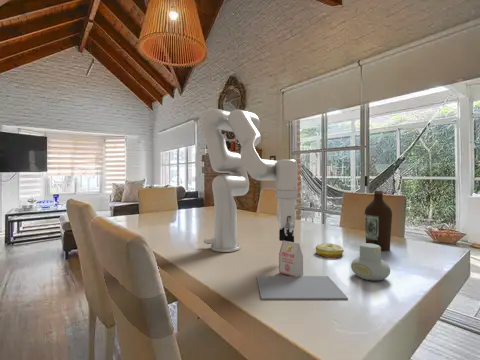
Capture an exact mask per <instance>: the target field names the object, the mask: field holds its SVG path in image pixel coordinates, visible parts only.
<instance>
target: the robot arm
mask: <svg viewBox="0 0 480 360" xmlns="http://www.w3.org/2000/svg"><path fill="white" fill-rule="evenodd" d="M200 122H201V123H200V124H201V126H200V127H201V133H202V135H203V138H204V141H205V143H206V149H207V153H208V158H209V162H210V167H211V169H212V170H213V171H214V172H216V173H222V174H219V175H217V176H216V177H214V179H212V184H211V188H212V195H213V203H214V208H213V209H214V213H213V214H214V220H213V221H214V224H213V225H214V230H213V231H214V233H213V234H214V236H213V237H211V238H204V239H203V244H206V245H210V250H211V251H214V252H218V253H231V252H236V251H239V250H240V249H241V245H240V244H239V243H237V237H238V234H237V233H238V232H237V231H238V230H237V228H238V227H237V226H238V221H237V220H238V219H237V215H238V210H237V208H238V207H237V204H236V200H235V198H234V197H238V196H239V197H241V196H245V195H247V193H248V192H249V191H250V190H249V189H250V180H249V176H250V177H251V178H252V179H253V180H256V181H275V200H277V205H276V206H277V209H276V226H277V227H278V228H279V231H278V234H279V237H278V241H280V242H282V240H284V241H289V242H295V233H294V232H295V231H294V229H296V227H295V226H296V204H295V203H296V202H295V201H297V200H298V174H299V173H298V169H299V168H298V162H297V160H295V159H279V160H273V159H263V158H261V157H260V156H259V153H258V152H257V151H256V148H255V147H256V146H258V145H259V144H260V142H261V140H262V136H261V134H260V131H259V128H260V125H261V124H260V122H261V121H260V119H259V117H258V114H257V115H256V113H254V112H251V111H247V110H243V109H234V110H232V111H228V110H223V109H219V108H209V109H207V110H206V111H205V112H204V113H203V114H202V118H201V121H200ZM221 131H225V132H230V133H231V132H232V133H233V134H234V136H235V137H236V139H237V141H238V143H239V144H240V147H241V148H240V153H238V152H237V151H230V150H229V149H228V146H227V143H226V138H225V137H224V136H223V134H222V133H221ZM225 173H226V174H225ZM248 175H249V176H248Z"/></svg>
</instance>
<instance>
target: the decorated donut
mask: <svg viewBox="0 0 480 360" xmlns="http://www.w3.org/2000/svg"><path fill="white" fill-rule="evenodd" d="M315 251H316V253H317V254H318V255H319V256H321V257H326V258H339V257H341V256H342V255H343V253H344V251H345V249H344V248H343V247H342V246H341V245H338V244H335V243H331V242H330V243H328V242H327V243H320V244H317V245H316V246H315Z"/></svg>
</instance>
